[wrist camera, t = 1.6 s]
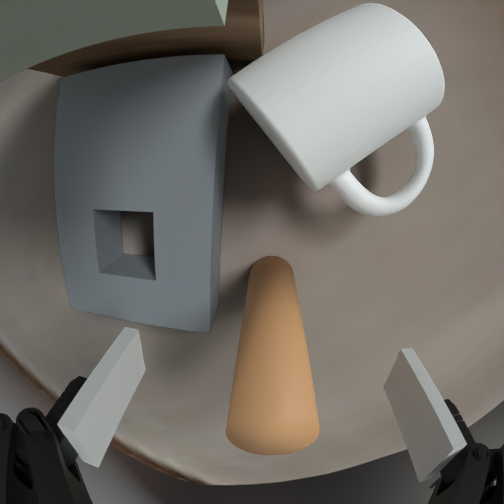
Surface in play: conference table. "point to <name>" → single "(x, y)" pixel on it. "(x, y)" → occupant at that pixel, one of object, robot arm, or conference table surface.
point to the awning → (123, 32)
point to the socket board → (143, 187)
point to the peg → (272, 368)
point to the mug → (347, 100)
